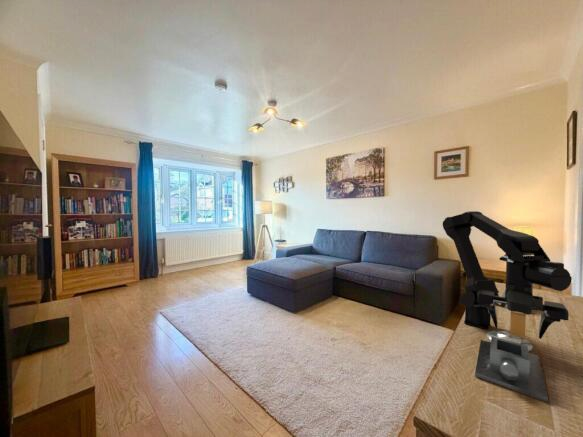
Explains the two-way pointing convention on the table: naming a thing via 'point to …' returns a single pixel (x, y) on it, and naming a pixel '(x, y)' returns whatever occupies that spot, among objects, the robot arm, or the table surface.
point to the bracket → (511, 364)
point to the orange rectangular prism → (518, 323)
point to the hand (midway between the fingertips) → (517, 332)
